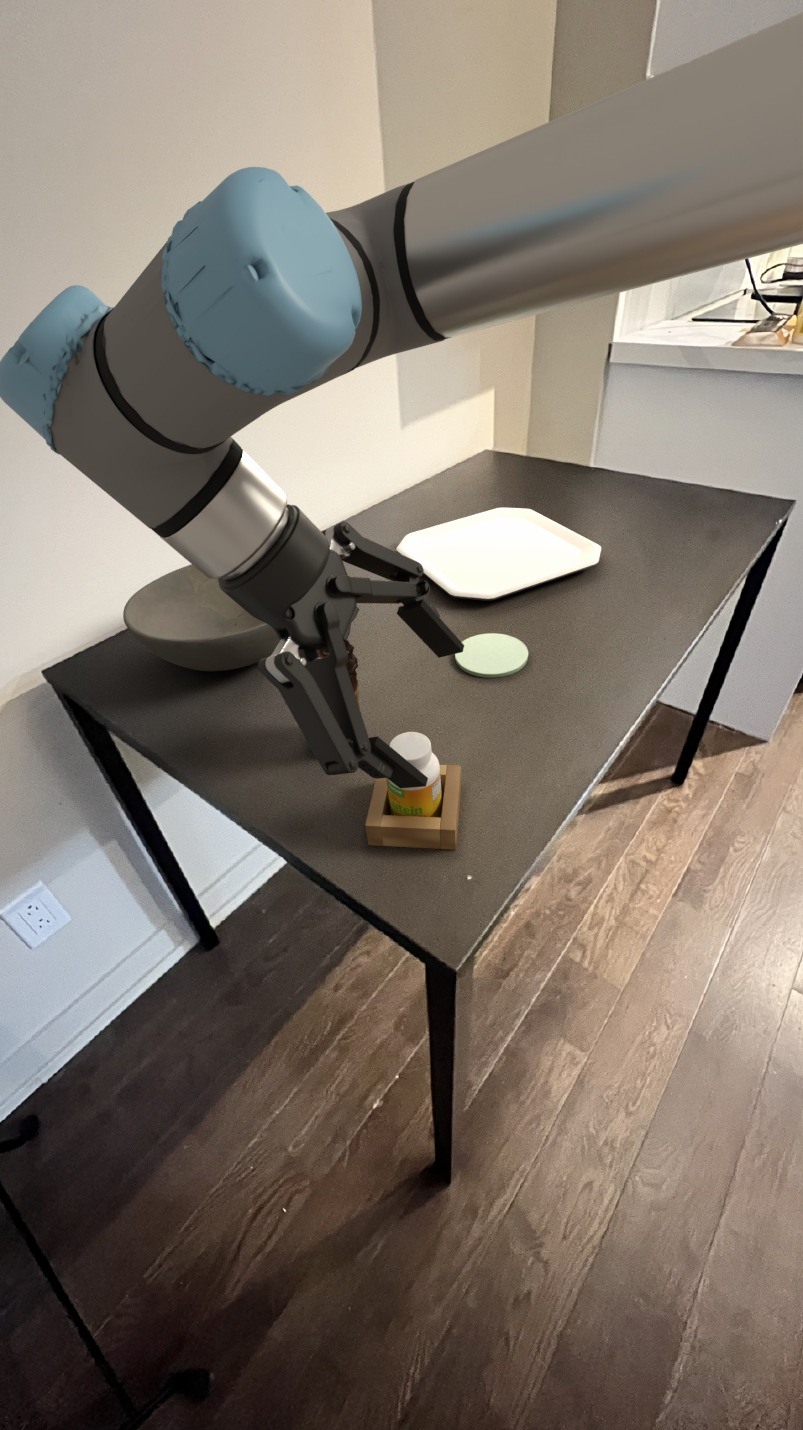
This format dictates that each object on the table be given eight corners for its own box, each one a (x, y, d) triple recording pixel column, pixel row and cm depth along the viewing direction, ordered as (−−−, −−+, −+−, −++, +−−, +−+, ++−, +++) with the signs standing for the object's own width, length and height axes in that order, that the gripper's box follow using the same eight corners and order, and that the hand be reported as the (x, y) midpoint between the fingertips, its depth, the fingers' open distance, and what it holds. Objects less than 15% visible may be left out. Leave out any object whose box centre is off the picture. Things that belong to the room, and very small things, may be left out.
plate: (618, 566, 102) (620, 554, 101) (466, 618, 94) (466, 605, 93) (517, 512, 123) (518, 501, 122) (385, 550, 115) (384, 539, 113)
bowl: (110, 671, 91) (82, 611, 85) (239, 591, 107) (224, 536, 101) (234, 727, 79) (212, 662, 72) (360, 627, 95) (351, 567, 88)
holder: (461, 784, 68) (461, 765, 66) (456, 850, 61) (455, 830, 59) (382, 781, 69) (379, 762, 67) (368, 845, 62) (364, 825, 61)
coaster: (527, 636, 89) (527, 633, 89) (529, 678, 81) (529, 674, 81) (457, 636, 90) (457, 633, 90) (452, 677, 83) (452, 673, 83)
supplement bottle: (383, 827, 64) (372, 758, 58) (402, 790, 68) (394, 722, 62) (432, 839, 62) (426, 770, 56) (449, 801, 66) (445, 732, 60)
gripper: (282, 446, 50) (433, 614, 62) (135, 705, 38) (360, 848, 50) (348, 403, 45) (498, 595, 57) (204, 685, 33) (434, 849, 45)
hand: (434, 713), depth 54 cm, fingers open, 13 cm apart
